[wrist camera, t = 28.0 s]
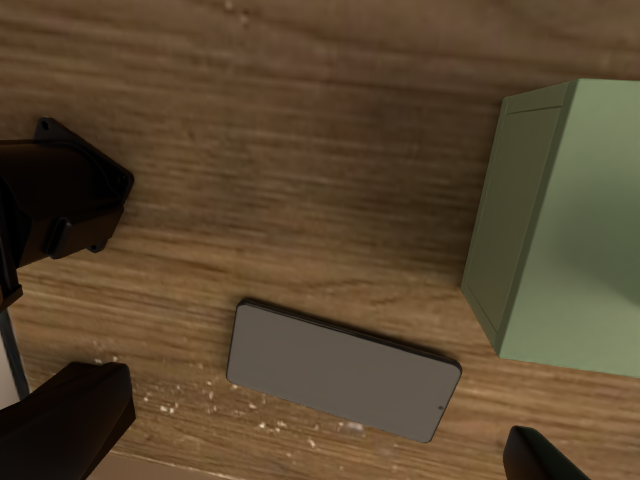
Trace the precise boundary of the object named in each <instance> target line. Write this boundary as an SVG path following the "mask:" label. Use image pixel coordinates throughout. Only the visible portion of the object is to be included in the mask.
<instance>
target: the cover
mask: <svg viewBox="0 0 640 480" xmlns="http://www.w3.org/2000/svg"><path fill="white" fill-rule="evenodd" d="M494 351H495V352H496V354H497V356H498V357H499V358H504V359H511V360H518V361H525V362H532V363H539V364H546V365H553V366H560V367H567V368H574V369H581V370H588V371H595V372H601V373H608V374H615V375H622V376H629V377H636V378H640V81H631V80H609V79H587V78H579V79H575V80H571V81H569V83H568V87H567V90H566V94H565V98H564V101H563V105H562V108H561V112H560V115H559V119H558V122H557V126H556V130H555V133H554V137H553V140H552V144H551V147H550V151H549V154H548V158H547V162H546V165H545V169H544V172H543V176H542V179H541V183H540V186H539V190H538V194H537V197H536V201H535V204H534V208H533V211H532V215H531V218H530V222H529V226H528V229H527V233H526V236H525V240H524V243H523V247H522V250H521V254H520V258H519V261H518V265H517V268H516V272H515V275H514V279H513V282H512V286H511V290H510V293H509V297H508V300H507V304H506V307H505V311H504V314H503V318H502V322H501V325H500V329H499V332H498V336H497V339H496V343H495V346H494Z"/></svg>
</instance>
